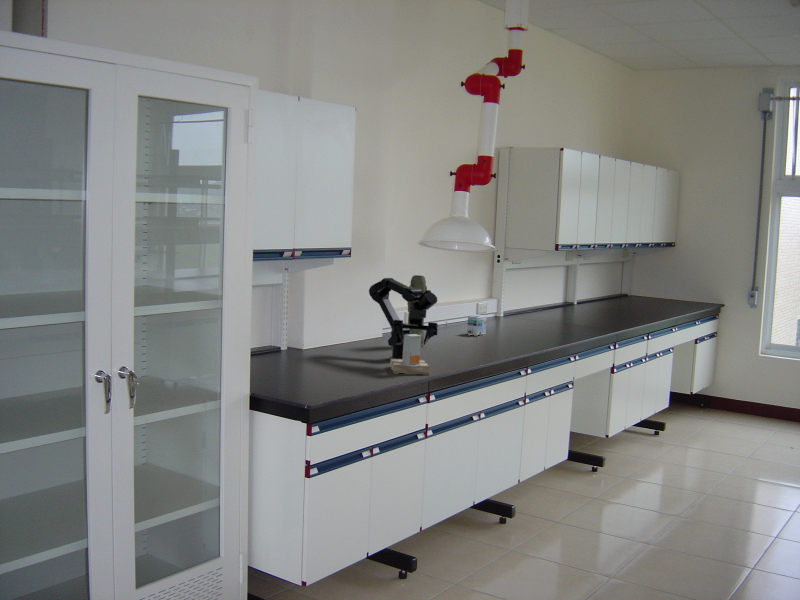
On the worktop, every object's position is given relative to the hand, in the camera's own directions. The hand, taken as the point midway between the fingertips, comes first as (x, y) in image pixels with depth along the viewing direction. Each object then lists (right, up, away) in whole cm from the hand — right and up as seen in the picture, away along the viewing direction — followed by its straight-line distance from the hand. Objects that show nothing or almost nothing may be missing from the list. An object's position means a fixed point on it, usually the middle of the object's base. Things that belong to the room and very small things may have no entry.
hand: (413, 343), depth 310 cm
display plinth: (-2, -11, -1) cm, 11 cm away
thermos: (+2, -5, +60) cm, 60 cm away
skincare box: (-1, -8, -5) cm, 10 cm away
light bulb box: (+37, -2, +108) cm, 114 cm away
